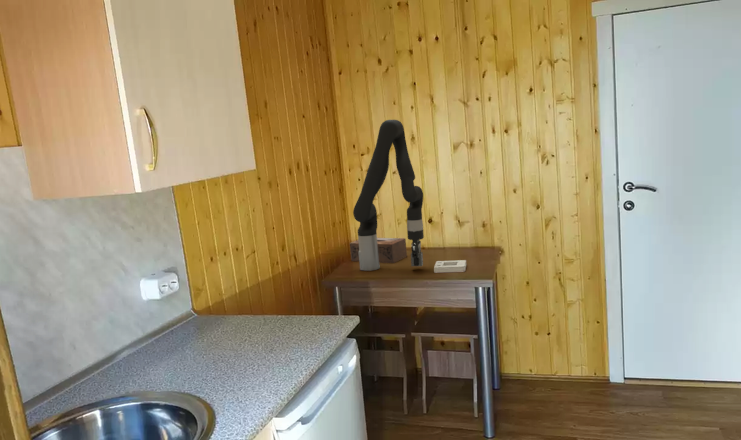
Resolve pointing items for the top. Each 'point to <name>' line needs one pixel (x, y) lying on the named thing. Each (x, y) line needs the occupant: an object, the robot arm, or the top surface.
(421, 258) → the block
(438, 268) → the outlet plate
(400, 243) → the tissue box cover
